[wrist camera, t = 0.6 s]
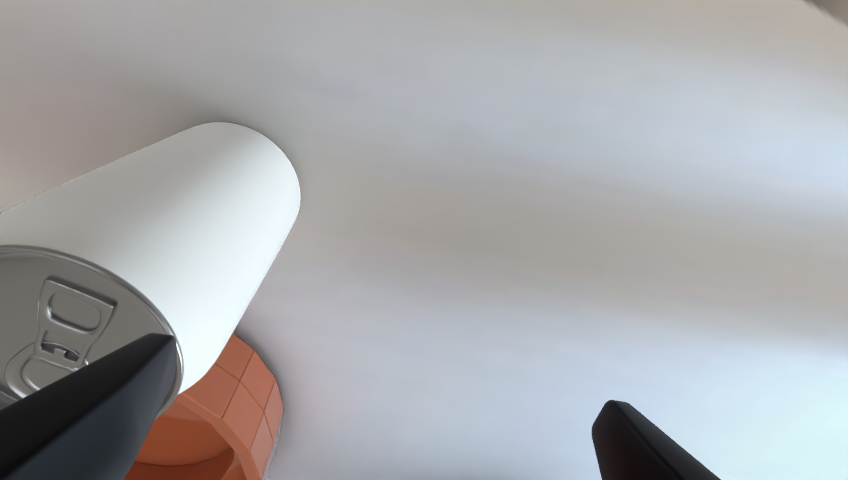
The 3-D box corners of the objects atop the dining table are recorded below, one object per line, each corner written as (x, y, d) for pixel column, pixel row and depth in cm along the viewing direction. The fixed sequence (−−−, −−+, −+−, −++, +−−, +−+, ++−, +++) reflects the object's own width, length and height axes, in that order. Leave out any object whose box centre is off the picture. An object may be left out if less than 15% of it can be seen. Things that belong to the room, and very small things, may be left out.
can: (147, 208, 21) (-125, 393, 10) (193, 91, 19) (-94, 167, 8) (270, 266, 23) (152, 478, 12) (326, 166, 20) (242, 313, 10)
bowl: (304, 467, 30) (285, 554, 25) (82, 486, 29) (18, 577, 24) (254, 280, 23) (214, 347, 18) (-35, 301, 23) (-157, 375, 18)
